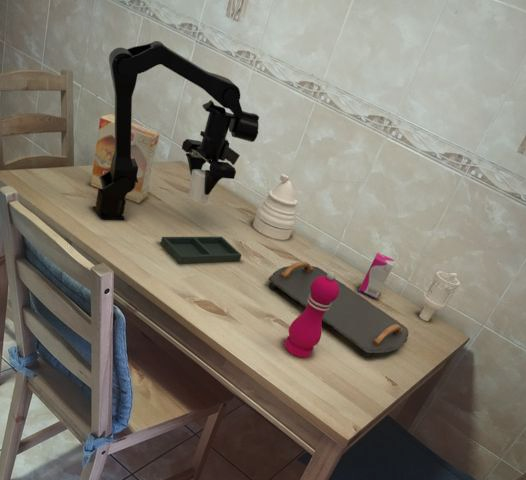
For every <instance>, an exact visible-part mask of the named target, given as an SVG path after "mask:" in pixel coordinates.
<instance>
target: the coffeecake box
mask: <svg viewBox="0 0 526 480" xmlns="http://www.w3.org/2000/svg"><path fill="white" fill-rule="evenodd" d="M97 132H98V133H97V137H96V146H95V152H94V158H93V164H92V165H93V167H92V174H91V180H90V186H93V187H95V188H98V189H102V185H101V180H100V177H101V176H102V175H104V174H105V173H107V172H109V171H110V167H111V162H112V158H113V155H114V151H115V114H112V113H109V114H106V115H102V116H100V118H99V125H98V130H97ZM159 138H160V132H158V131H155V130H153V129H150V128H147V127H144V126H142V125H140V124H137V123H135V122H132V121H131V159H134V158H135V160H136V163H137V165H138V172H137V180H138V183H137V182H135V188H134V189H133V190H132V191H131V192H129V193H127V195H126V196H125V200H129V201H132V202H135V203H137V204H140V203H141V202H142V201H143V200H145V199H146V198H147V196H148V191H149V186H150V181H151V177H152V172H153V167H154V162H155V157H156V152H157V148H158V142H159Z"/></svg>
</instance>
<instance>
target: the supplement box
mask: <svg viewBox="0 0 526 480" xmlns="http://www.w3.org/2000/svg"><path fill="white" fill-rule="evenodd" d="M395 261H396V260H395V259H393V258H391V257H389V256H386V255H385V254H383V253H380V252H377V253H376V255H375V257H374V258H373V260H372V263H371V265H370V267H369V269H368V270H367V273H366V274H365V277H364V278H363V280H362V283H361V284H360V287H359V290H358V293H360V294H363V295H365V296H367V297H369V298H371V299H374V300H377V299H378V297H379V294H380V293H381V291H382V289H383V287H384V285H385V283H386V281H387V279H388V277H389V275H390V274H391V271H392V270H393V268H394V265H395Z"/></svg>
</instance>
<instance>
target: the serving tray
mask: <svg viewBox="0 0 526 480" xmlns="http://www.w3.org/2000/svg"><path fill="white" fill-rule="evenodd" d="M328 273H329V272H326V271H324V269H321V268H320V267H319V266H314V265H311V264H310V263H309V262H307V261H297V262H295V263H292V264H290V265H287V266H283V267H281V268H278V269H276V270H275V271H274V272H273V273H272V274H271V275H270V276H269V277H268V281H269V288H270V289H272V290H275V289H277V288H278V289H280V290H281V291H282V292H284V293H285V294H286V295H288V296H289V297H291V298H292V299H293V300H294V301H296V302H297V303H299V304H300V305H301V306H303V307H304V308H305V309H306V307H307V305H308V301H307V299H308V298H309V295H310V294H311V289H310V287H311V284H312V282H313V281H314V280H315V279H316V278H317V277H320V276H327V274H328ZM334 280H335V281H336V282H337V284H338V286H339V294H338V297H337V298H336V300H334V301H333V302H331V306H330V308H329V310H327V311H326V312H325V313H324V315H323V318H322V322H324V323H326V324H327V325H328V326H330V327H331V328H332V329H334V330H335V331H337V332H338V333H339V334H341V335H342V336H343V337H345V338H346V339H348V340H349V341H350V342H351V343H353V344H354V345H356V346H357V347H358V348H360V349H361V356H362V357H363V358H366V359H367V358H369V357H370V356H371V355H372V354H384V353H390V352H393V351H396V350H399V349H400V348H402V347H403V346H404V344H405V343H406V342H407V341H408V337H409V328H407V326H405V325H404V324H402V323H401V322H400V321H398V320H396V319H395V318H393V317H392V316H391V315H389V314H388V313H386V312H385V311H384V310H383V309H381V308H379V307H377V306H376V305H374V304H372V303H371V302H370V301H369V300H367V299H366V298H365V297H363V296H362V295H361V294H358V293H357V291H354V290H353V289H351V288H350V287H348V286H347V285H346V284H344V283H343V282H341V281H339V280H338V279H336V278H335V279H334Z"/></svg>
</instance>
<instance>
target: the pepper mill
mask: <svg viewBox="0 0 526 480" xmlns="http://www.w3.org/2000/svg"><path fill="white" fill-rule="evenodd" d="M327 273H328V274H327V276H320V277H317V278H316V279H315V280H314V281H313V282H312V284H311V287H310V289H311V294H310V295H309V298H308V299H307V301H308V305H307V307H306V308H305V309H304V310H303V312H301V314H299V315H298V316H297V317H296V318H295V319H294V320H293V321H292V322H291V324H290V326H288V336H287V337H286V339H285V342H284V347H285V349H286V350H287V352H288V353H290V354H291V355H293V356H295V357H298V358H308V357H309V356H311V354H312V352H313V350H314V347H315V346H317V345H318V344H319V342H320V341H321V339H322V332H323V330H322V329H323V327H322V322H323V320H322V318H323V315H324V313H325V312H326V311H327V310H329V308H330V306H331V302H333V301H334V300H336V298H337V297H338V294H339V286H338V284H337V282H336V281H335V280H334V279H336V273H335V272H333V271H329V272H327Z"/></svg>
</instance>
